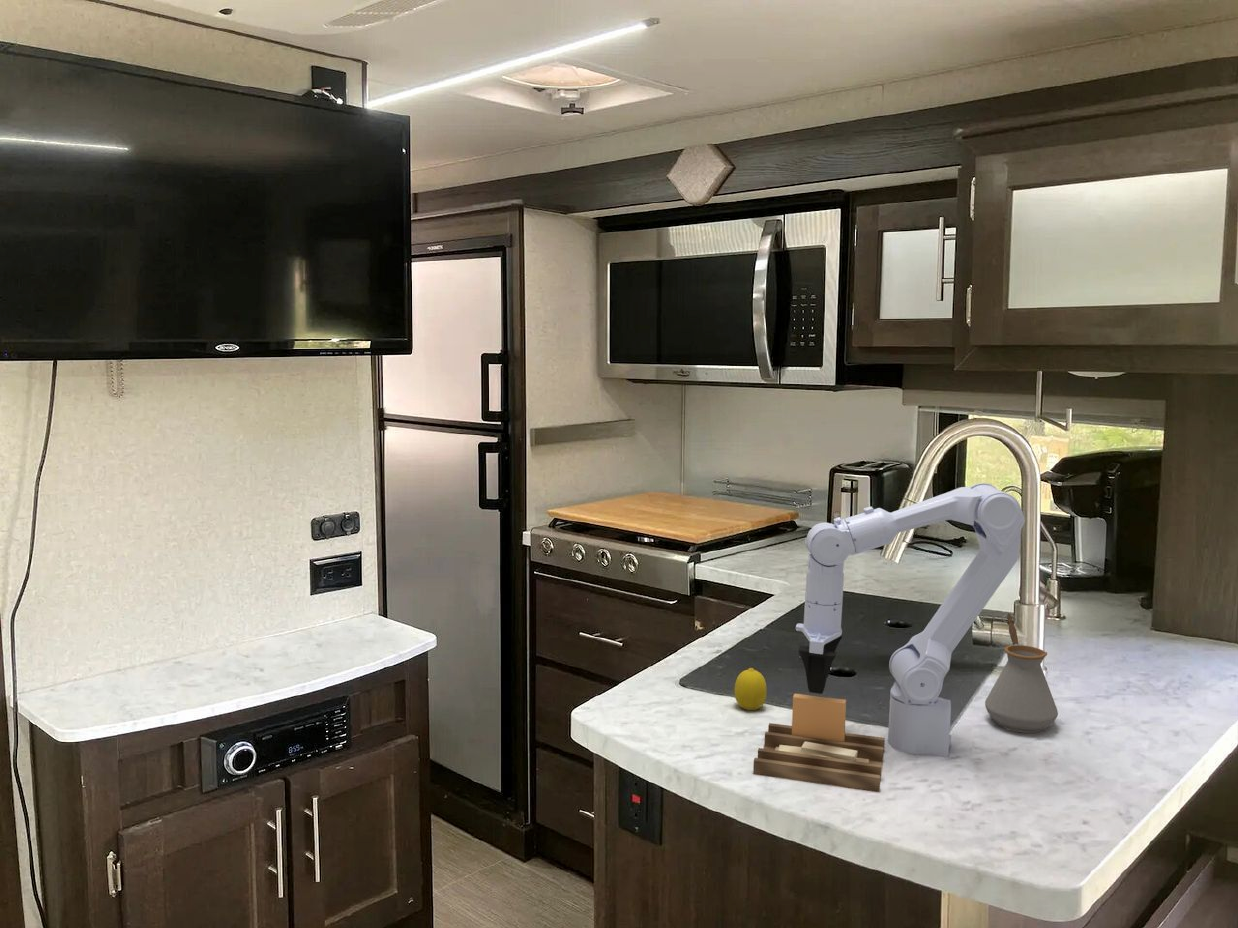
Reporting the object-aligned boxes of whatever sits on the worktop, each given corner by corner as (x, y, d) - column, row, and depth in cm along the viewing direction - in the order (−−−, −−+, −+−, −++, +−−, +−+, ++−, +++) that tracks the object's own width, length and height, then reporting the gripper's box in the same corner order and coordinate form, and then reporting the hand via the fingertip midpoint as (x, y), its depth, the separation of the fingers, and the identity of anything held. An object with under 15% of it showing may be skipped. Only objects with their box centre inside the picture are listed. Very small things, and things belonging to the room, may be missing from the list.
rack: (884, 752, 155) (885, 734, 155) (878, 798, 140) (879, 778, 140) (770, 737, 160) (770, 720, 160) (752, 780, 145) (753, 760, 145)
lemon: (744, 703, 175) (746, 660, 174) (772, 711, 171) (773, 667, 170) (727, 713, 171) (728, 668, 169) (755, 721, 167) (756, 676, 166)
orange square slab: (844, 748, 154) (846, 699, 153) (843, 752, 153) (845, 703, 152) (792, 741, 157) (794, 693, 155) (791, 745, 155) (793, 697, 154)
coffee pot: (1064, 740, 160) (1070, 651, 158) (989, 734, 163) (995, 646, 161) (1036, 693, 181) (1042, 614, 179) (970, 688, 183) (975, 610, 181)
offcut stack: (868, 762, 149) (869, 749, 149) (867, 772, 146) (867, 759, 146) (776, 750, 153) (776, 737, 153) (772, 759, 150) (773, 746, 150)
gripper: (803, 586, 162) (799, 665, 164) (791, 609, 148) (786, 696, 150) (847, 591, 160) (842, 671, 162) (839, 615, 146) (833, 702, 148)
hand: (818, 683), depth 156 cm, fingers open, 7 cm apart
